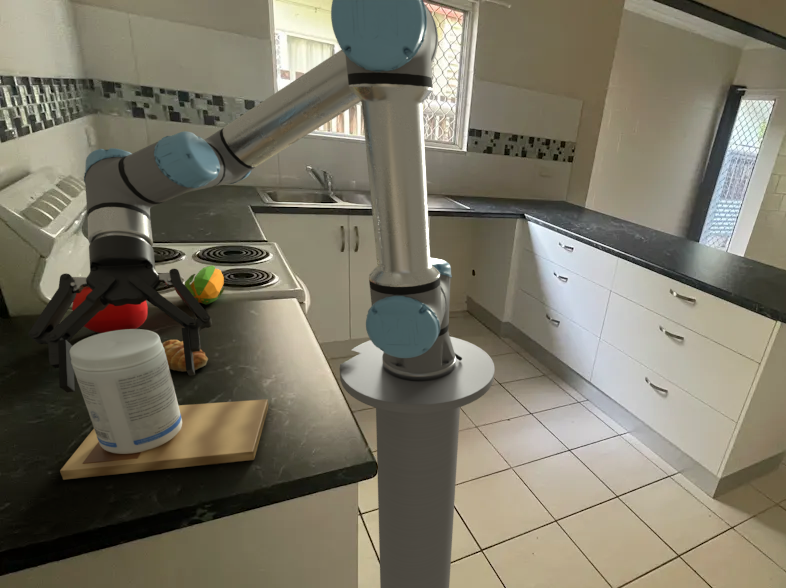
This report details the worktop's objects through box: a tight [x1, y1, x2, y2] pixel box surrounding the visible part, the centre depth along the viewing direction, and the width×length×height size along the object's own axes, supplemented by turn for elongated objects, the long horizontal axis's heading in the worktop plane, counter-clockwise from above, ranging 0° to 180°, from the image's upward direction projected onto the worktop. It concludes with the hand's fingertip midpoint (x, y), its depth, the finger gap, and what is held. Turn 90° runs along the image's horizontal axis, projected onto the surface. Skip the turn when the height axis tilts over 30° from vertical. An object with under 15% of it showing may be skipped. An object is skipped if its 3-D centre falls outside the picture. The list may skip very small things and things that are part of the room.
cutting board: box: [59, 398, 270, 481], centre depth 69 cm, size 22×14×2 cm, turn 107°
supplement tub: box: [70, 328, 182, 454], centre depth 64 cm, size 10×10×15 cm
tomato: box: [71, 287, 149, 334], centre depth 96 cm, size 12×12×11 cm
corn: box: [184, 264, 225, 306], centre depth 119 cm, size 7×8×20 cm
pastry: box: [161, 339, 209, 373], centre depth 88 cm, size 9×7×4 cm
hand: (132, 380), depth 65 cm, fingers open, 13 cm apart
